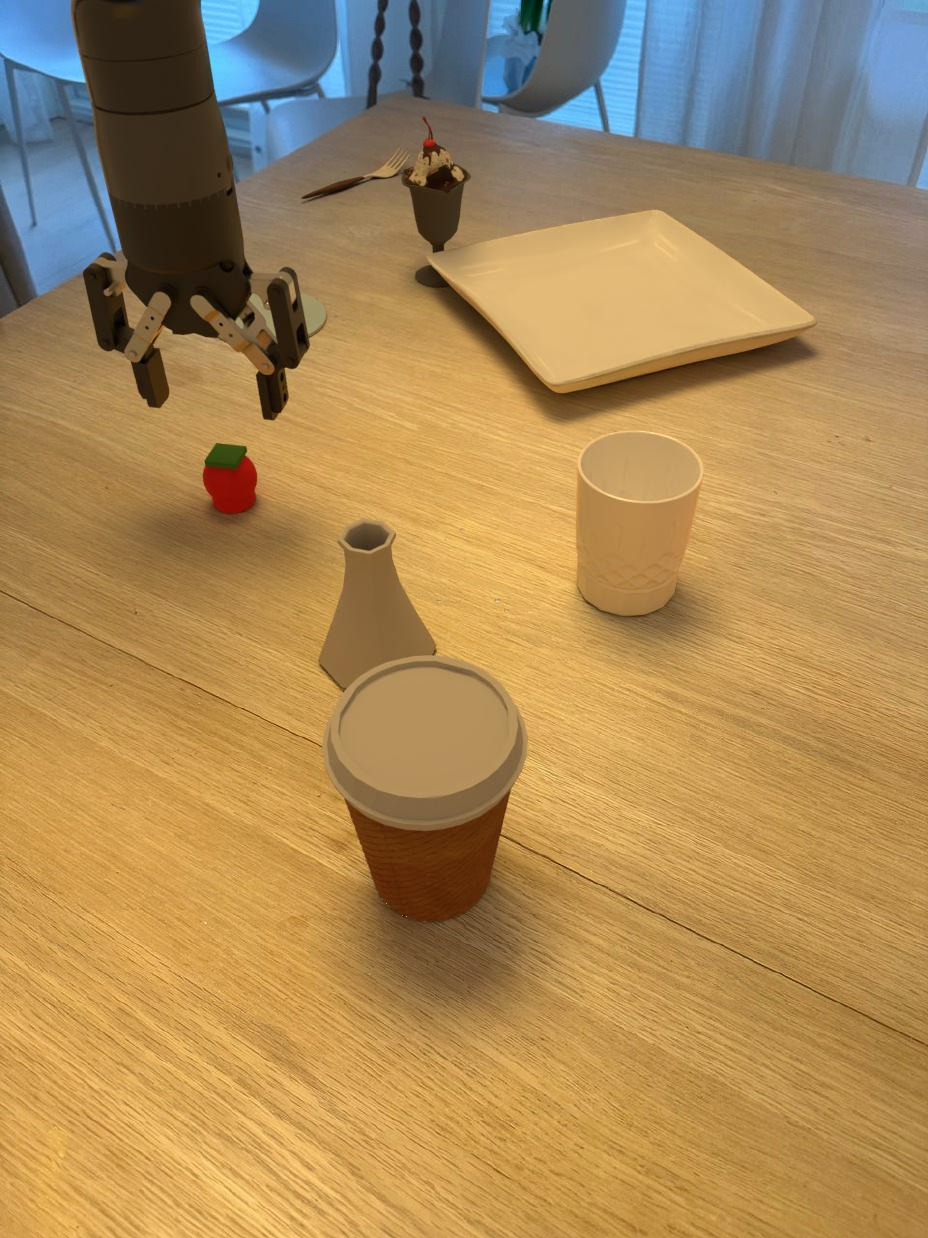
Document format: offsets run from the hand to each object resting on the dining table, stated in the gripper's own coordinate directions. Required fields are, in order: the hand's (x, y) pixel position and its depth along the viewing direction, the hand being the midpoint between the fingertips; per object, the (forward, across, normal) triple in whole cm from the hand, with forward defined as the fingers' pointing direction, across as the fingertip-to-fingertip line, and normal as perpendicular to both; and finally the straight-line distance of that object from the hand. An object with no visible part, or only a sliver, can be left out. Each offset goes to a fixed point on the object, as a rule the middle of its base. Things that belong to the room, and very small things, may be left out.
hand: (216, 408), depth 74 cm
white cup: (+9, +30, -4) cm, 31 cm away
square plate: (+8, +25, +34) cm, 43 cm away
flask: (+9, +15, -14) cm, 22 cm away
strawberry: (+8, 0, 0) cm, 8 cm away
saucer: (+8, -7, +28) cm, 30 cm away
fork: (+8, -8, +62) cm, 63 cm away
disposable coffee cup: (+9, +22, -29) cm, 37 cm away
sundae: (+8, +7, +40) cm, 42 cm away
